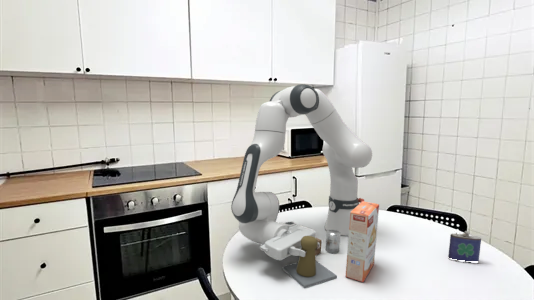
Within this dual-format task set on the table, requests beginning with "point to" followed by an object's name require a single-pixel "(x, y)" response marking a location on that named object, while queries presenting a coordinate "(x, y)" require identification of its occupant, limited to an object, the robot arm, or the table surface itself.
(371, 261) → the cracker box
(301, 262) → the olive pawn piece
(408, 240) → the table surface
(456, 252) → the flask
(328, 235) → the grey tin
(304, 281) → the coaster
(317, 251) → the walnut block
